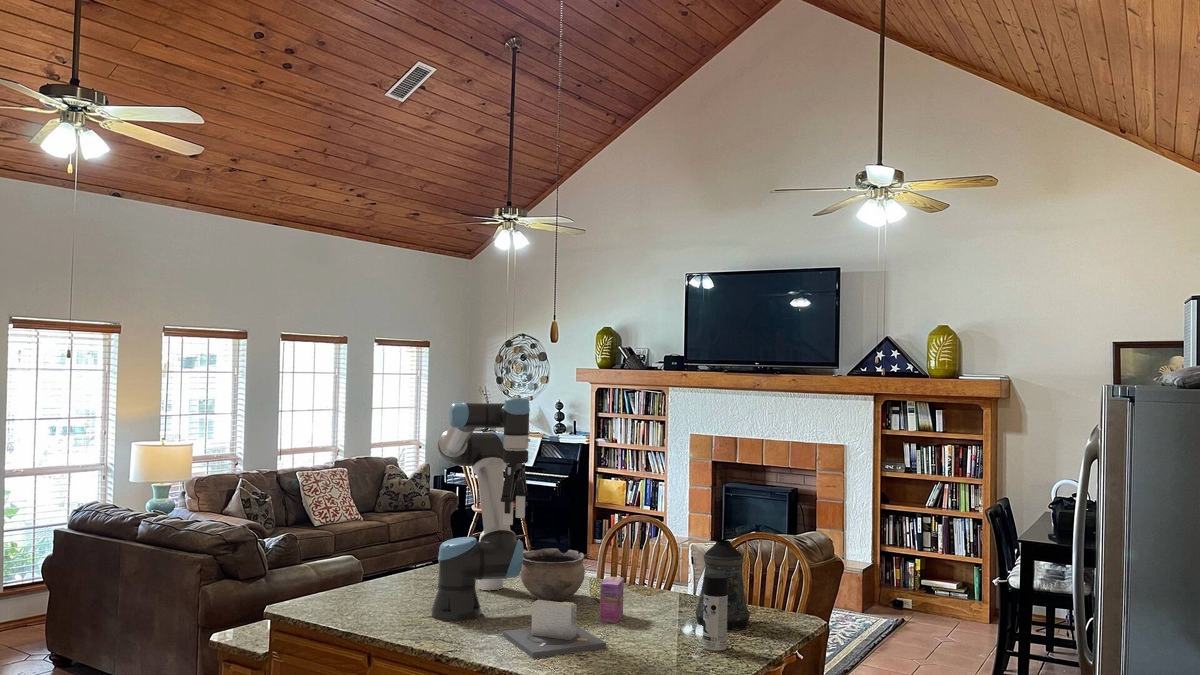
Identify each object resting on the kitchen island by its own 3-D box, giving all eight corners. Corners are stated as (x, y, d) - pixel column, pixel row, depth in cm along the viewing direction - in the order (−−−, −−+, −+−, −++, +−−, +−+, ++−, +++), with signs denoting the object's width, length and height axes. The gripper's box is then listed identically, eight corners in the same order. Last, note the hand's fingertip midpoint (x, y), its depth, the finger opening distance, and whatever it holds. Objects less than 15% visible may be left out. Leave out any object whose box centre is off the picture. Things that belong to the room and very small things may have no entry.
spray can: (700, 644, 250) (701, 573, 251) (724, 644, 250) (725, 573, 252) (705, 652, 243) (706, 578, 244) (729, 651, 244) (730, 578, 245)
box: (617, 623, 270) (618, 584, 271) (599, 622, 272) (600, 583, 272) (623, 615, 281) (624, 577, 281) (605, 613, 282) (606, 576, 282)
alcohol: (478, 585, 317) (480, 501, 318) (502, 585, 318) (505, 501, 319) (477, 591, 308) (479, 504, 310) (503, 591, 309) (505, 504, 310)
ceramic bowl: (596, 597, 303) (597, 553, 304) (560, 610, 285) (561, 563, 285) (544, 588, 315) (545, 545, 316) (506, 600, 296) (507, 555, 297)
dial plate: (502, 636, 254) (503, 630, 255) (572, 628, 264) (572, 622, 264) (532, 658, 235) (532, 651, 235) (606, 648, 245) (606, 642, 245)
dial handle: (531, 635, 250) (532, 601, 250) (537, 631, 254) (538, 597, 254) (570, 640, 246) (571, 605, 246) (576, 636, 249) (576, 602, 250)
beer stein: (713, 633, 262) (714, 547, 263) (681, 616, 280) (682, 536, 281) (760, 627, 269) (760, 544, 270) (726, 612, 286) (727, 534, 288)
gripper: (517, 453, 252) (515, 528, 251) (538, 447, 276) (536, 515, 275) (491, 452, 253) (489, 527, 252) (514, 446, 278) (513, 514, 277)
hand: (514, 521), depth 264 cm, fingers open, 13 cm apart
